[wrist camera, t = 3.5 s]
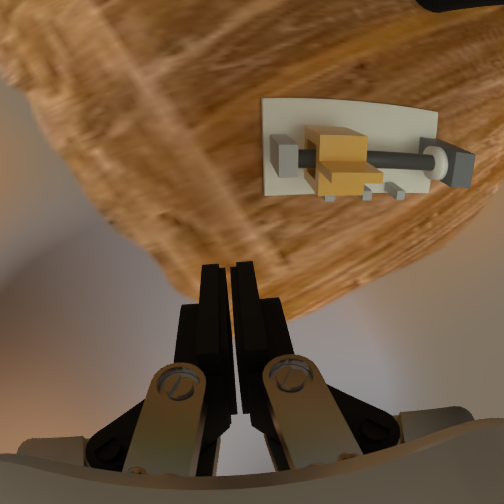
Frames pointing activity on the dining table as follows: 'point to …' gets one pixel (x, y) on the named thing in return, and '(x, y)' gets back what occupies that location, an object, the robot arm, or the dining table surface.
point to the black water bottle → (456, 4)
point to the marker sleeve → (339, 161)
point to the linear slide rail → (378, 149)
